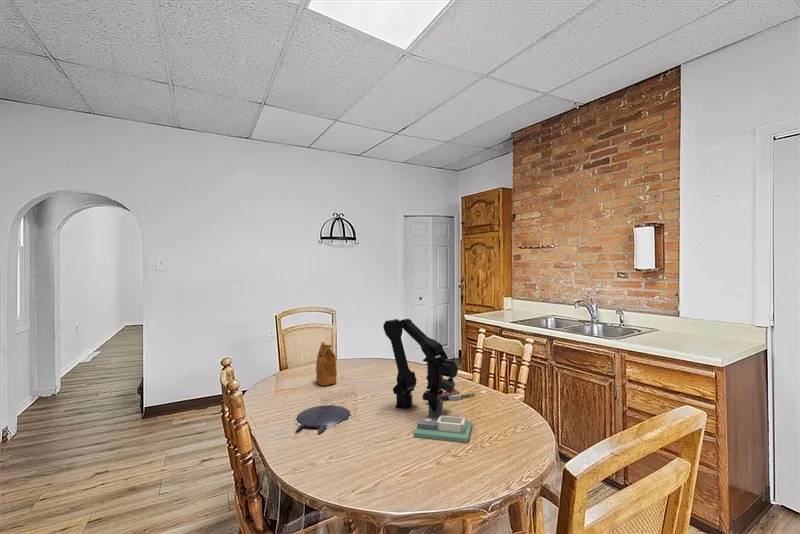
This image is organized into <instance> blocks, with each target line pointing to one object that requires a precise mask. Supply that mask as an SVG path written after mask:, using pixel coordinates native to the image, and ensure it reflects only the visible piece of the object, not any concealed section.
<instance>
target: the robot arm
mask: <svg viewBox="0 0 800 534" xmlns="http://www.w3.org/2000/svg"><path fill="white" fill-rule="evenodd" d="M383 330H384V333H385V336H386V337H387V338H388V339H389V340H390V344H391V347H392V352H393V355H394V359H395V363H396V368H397V376H396V384H395V386H394V387H393V388H392V392H393V394H394V395H396V405H395V408H398V409H406V410H407V409H408V410H409V409H410V408H411V407H412V406H413V404H414V403H413V401H414V400H413V394H412V392H414V390H415V387H416V386H417V381H418V379H417V376H416V373H415V371H412V370H411V369H410V367H409V364H408V360H407V356H406V352H405V348H404V344H403V339H402V336H403V331H405V332H406V334H408V335H409V336H410V337H411V338H412V339H413V340H414V342H417V344H418V345H419V346H420V349H421V351H422V353H423V354H424V356H425V358H423V359H422V361H423V362H424V363H426V364H427V365H426V370H427V371H426V372H427V373H426V376H425V377H426V380H427V386H426V390H425V391H424V392H423V394H422V400H423V401H426V402H429V404H430V406H431V408H432V410H433V412H436V406H437V401H438V400H439V399H440V397H441V396H440V395H441V394H442V393H443V391H444V390H445V391H447V392H448V393H452V391H453V389H455V386H456V382H455V380H454V378H456V377H457V375H458V371H459V368H458V365H457V364H456V363H455V360H453V359H449V357H448V355H447V353H446V352H445V350H444V348H443V345H442V343H440V342H438V341H437V340H436V339H434V338H431V337H429V336H427V335H426V333H424V332H423V331H422V330H421V329H420V328H419V327H417V325H415V324H414V322H412V320H411V319H410V318H404V319H401V320H400V319H397V318H396V319H390V320H385V322H384V324H383ZM443 376H444V377H447V378H444V377H443Z"/></svg>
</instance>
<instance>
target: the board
mask: <svg viewBox="0 0 800 534" xmlns="http://www.w3.org/2000/svg"><path fill="white" fill-rule="evenodd" d="M466 418H467V417H462V416H454V415H453V416H452V415H444V414H443V415H440V416H439V418H435V417H429V416H421V417H420V419H419V421H418V422H417V424H416V425H417V426H416V428H415V430H414V432H413V437H414V438H421V439H423V438H424V439H429V440H430V439H431V440H440V441H446V442H447V441H448V442H457V443H465V444H468V443H469V439H470V436H471V432H472V428H473V420H472V421H469V420H466Z"/></svg>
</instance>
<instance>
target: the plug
mask: <svg viewBox="0 0 800 534" xmlns="http://www.w3.org/2000/svg"><path fill="white" fill-rule="evenodd" d="M424 405H425V406H428V417H433V418H439V416H440V415H444V401H441V399H439V400H438V401H437V406H436V412H433V410H432V408H431V406H430V404H429V402H428V401H425V402H424Z"/></svg>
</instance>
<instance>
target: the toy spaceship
mask: <svg viewBox="0 0 800 534" xmlns="http://www.w3.org/2000/svg"><path fill="white" fill-rule="evenodd" d="M350 412H351V411H350V410H349V409H348V408H346V407H344V406H339V405H335V404H334V405H332V404H330V405H329V404H328V405H327V404H325V405H317V406H313V407H310V408H306V409H304V410H303V411H301V412H299V413H300V414H299V413H298V414H297V415H298V416H297V415H296V416H297V418H296V420H297V422H298V423H300V424H301V425H300V426H299V427H298V426H297V428H296V430H295V433H296V432H299V430H300V429H302V428H301V427H306V428H309V427H310V428H311V427H312V428H316V429H318V428H319V429H318V430H317V432H318V433H319V434H321V432H322V431H323V430H324V431H326V429H325V428H326V427H329V426H332V425H335V424H339V423H341V422H343V421H345V420H348V418H349V416H351V417H352V414H351V415H350ZM348 421H349V420H348ZM324 431H323V432H324ZM323 432H322V433H323Z"/></svg>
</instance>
